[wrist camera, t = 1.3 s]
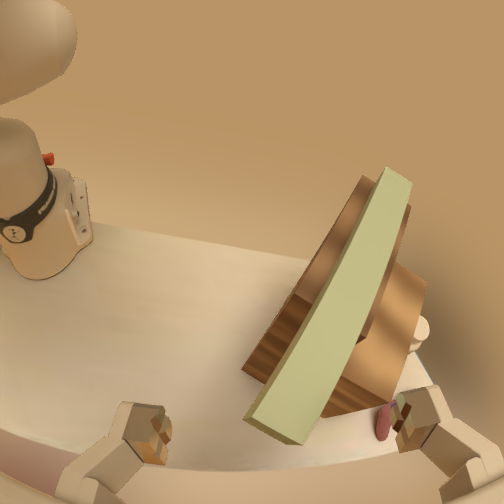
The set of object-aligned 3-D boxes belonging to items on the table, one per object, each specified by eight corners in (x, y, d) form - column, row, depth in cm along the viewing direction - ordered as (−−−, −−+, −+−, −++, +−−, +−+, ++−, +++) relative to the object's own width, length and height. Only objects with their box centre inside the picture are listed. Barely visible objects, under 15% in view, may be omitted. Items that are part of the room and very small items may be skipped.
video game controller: (410, 401, 44) (427, 377, 40) (424, 420, 40) (443, 397, 37) (364, 423, 41) (380, 399, 38) (378, 445, 38) (396, 423, 34)
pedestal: (323, 418, 40) (444, 385, 19) (241, 369, 42) (294, 293, 21) (365, 331, 48) (467, 247, 28) (294, 287, 51) (362, 174, 30)
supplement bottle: (397, 334, 49) (431, 312, 41) (398, 364, 46) (435, 346, 38) (370, 332, 48) (403, 308, 40) (371, 363, 45) (406, 344, 37)
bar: (286, 444, 16) (302, 445, 13) (242, 419, 16) (251, 416, 14) (397, 203, 29) (412, 183, 26) (372, 187, 29) (386, 166, 27)
